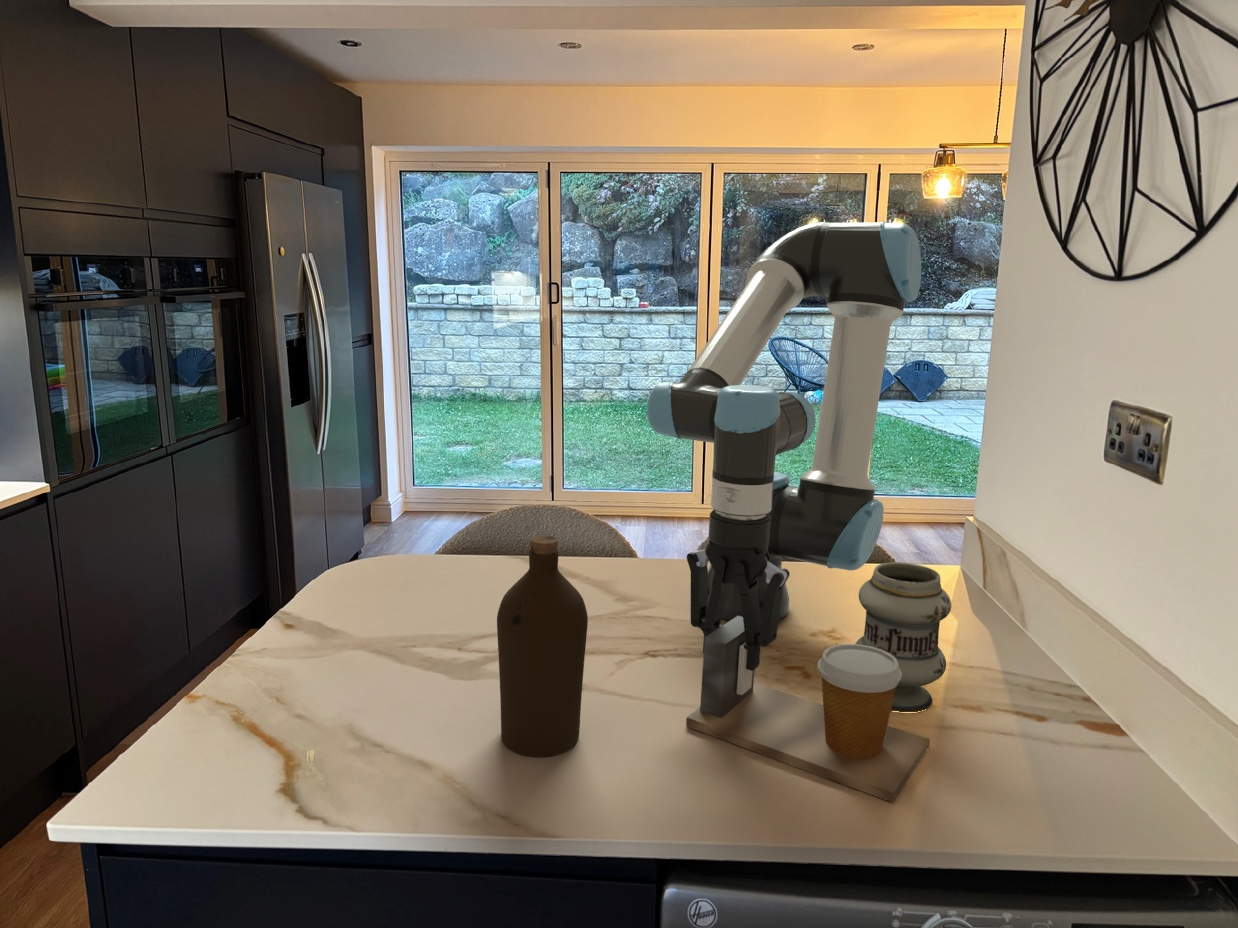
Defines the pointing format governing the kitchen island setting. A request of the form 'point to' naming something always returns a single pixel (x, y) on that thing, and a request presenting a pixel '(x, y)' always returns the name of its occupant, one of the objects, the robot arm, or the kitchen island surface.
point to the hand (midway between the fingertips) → (728, 685)
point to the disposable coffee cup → (857, 697)
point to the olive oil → (541, 656)
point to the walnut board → (791, 724)
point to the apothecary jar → (907, 627)
